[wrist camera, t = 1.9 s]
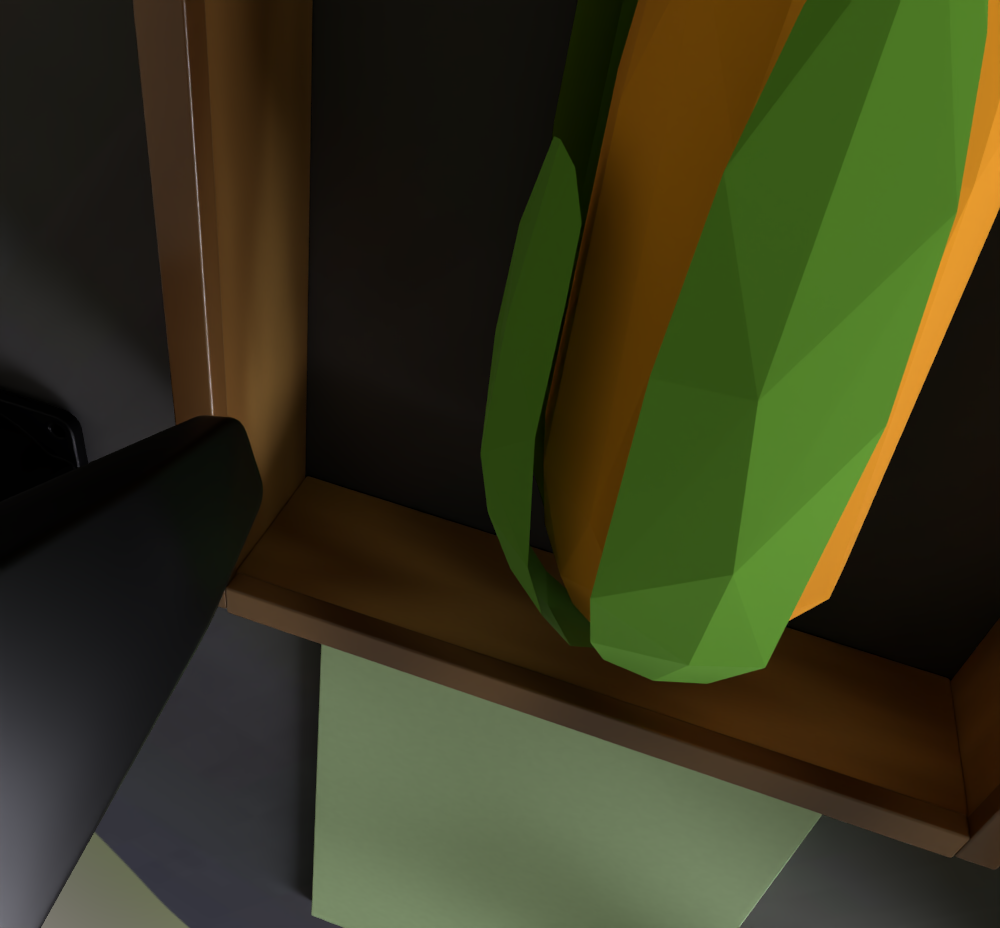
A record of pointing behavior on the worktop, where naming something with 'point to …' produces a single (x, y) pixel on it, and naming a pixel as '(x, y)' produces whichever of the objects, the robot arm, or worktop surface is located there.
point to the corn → (731, 307)
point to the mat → (520, 819)
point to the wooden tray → (461, 549)
